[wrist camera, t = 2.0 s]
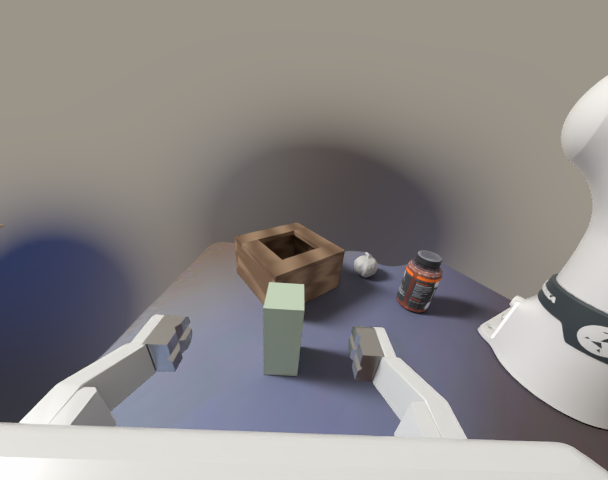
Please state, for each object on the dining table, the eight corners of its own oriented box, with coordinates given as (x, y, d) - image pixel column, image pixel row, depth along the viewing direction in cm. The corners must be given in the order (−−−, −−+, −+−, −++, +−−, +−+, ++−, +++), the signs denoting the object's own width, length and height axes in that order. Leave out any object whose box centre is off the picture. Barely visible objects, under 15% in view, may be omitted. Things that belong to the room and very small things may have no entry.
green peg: (268, 344, 33) (269, 282, 27) (297, 346, 33) (304, 284, 28) (263, 374, 29) (263, 308, 23) (297, 376, 29) (304, 310, 24)
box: (294, 253, 58) (296, 222, 53) (337, 286, 47) (344, 250, 43) (237, 272, 48) (234, 236, 44) (274, 318, 37) (275, 276, 33)
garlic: (354, 264, 55) (358, 246, 53) (376, 270, 54) (381, 252, 51) (349, 276, 50) (354, 257, 48) (373, 283, 49) (379, 264, 46)
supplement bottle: (433, 313, 42) (457, 264, 37) (405, 315, 41) (425, 265, 36) (415, 292, 47) (433, 247, 42) (390, 293, 46) (406, 247, 41)
